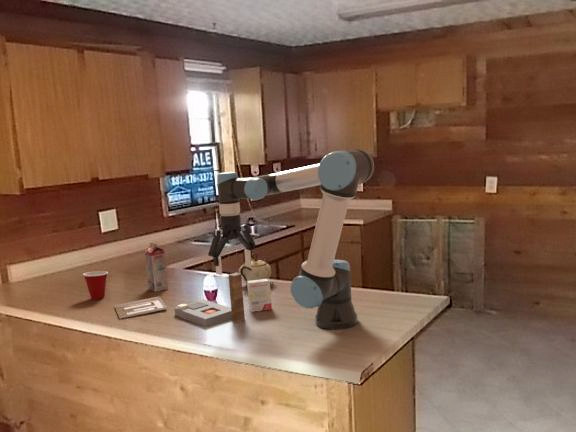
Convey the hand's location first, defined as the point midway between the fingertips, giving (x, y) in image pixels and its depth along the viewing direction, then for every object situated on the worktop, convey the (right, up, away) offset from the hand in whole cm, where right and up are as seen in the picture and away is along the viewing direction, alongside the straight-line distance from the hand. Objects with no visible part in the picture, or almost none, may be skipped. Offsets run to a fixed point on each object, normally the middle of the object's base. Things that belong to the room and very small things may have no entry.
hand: (234, 270), depth 213 cm
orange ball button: (-10, -18, +7) cm, 22 cm away
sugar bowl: (+5, -12, +52) cm, 53 cm away
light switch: (-41, -19, +25) cm, 52 cm away
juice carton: (-41, -14, +56) cm, 71 cm away
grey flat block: (-12, -19, +11) cm, 25 cm away
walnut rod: (+1, -19, +3) cm, 19 cm away
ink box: (+9, -17, +15) cm, 25 cm away
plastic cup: (-66, -17, +47) cm, 83 cm away
